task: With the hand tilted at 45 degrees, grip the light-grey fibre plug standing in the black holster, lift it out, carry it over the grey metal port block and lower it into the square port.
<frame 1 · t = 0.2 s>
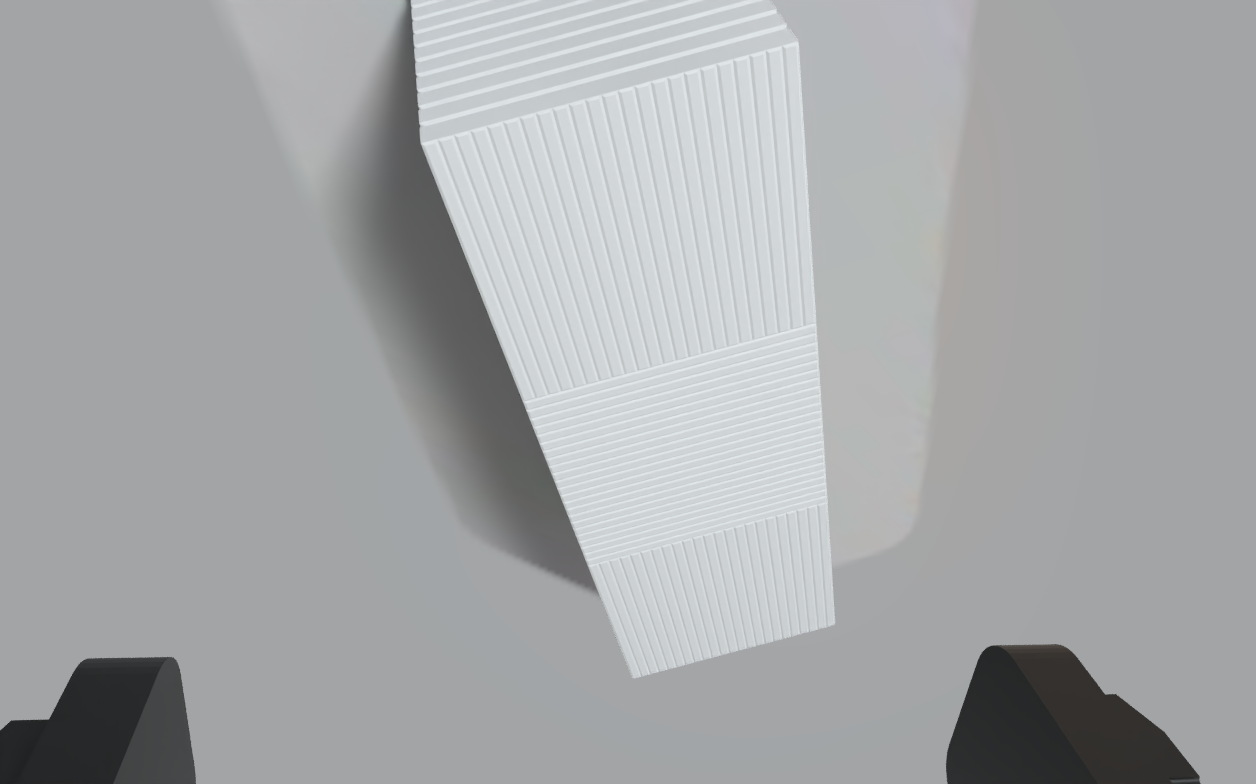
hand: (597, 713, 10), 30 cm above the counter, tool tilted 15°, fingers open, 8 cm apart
stack of papers: (637, 283, 46), on the counter
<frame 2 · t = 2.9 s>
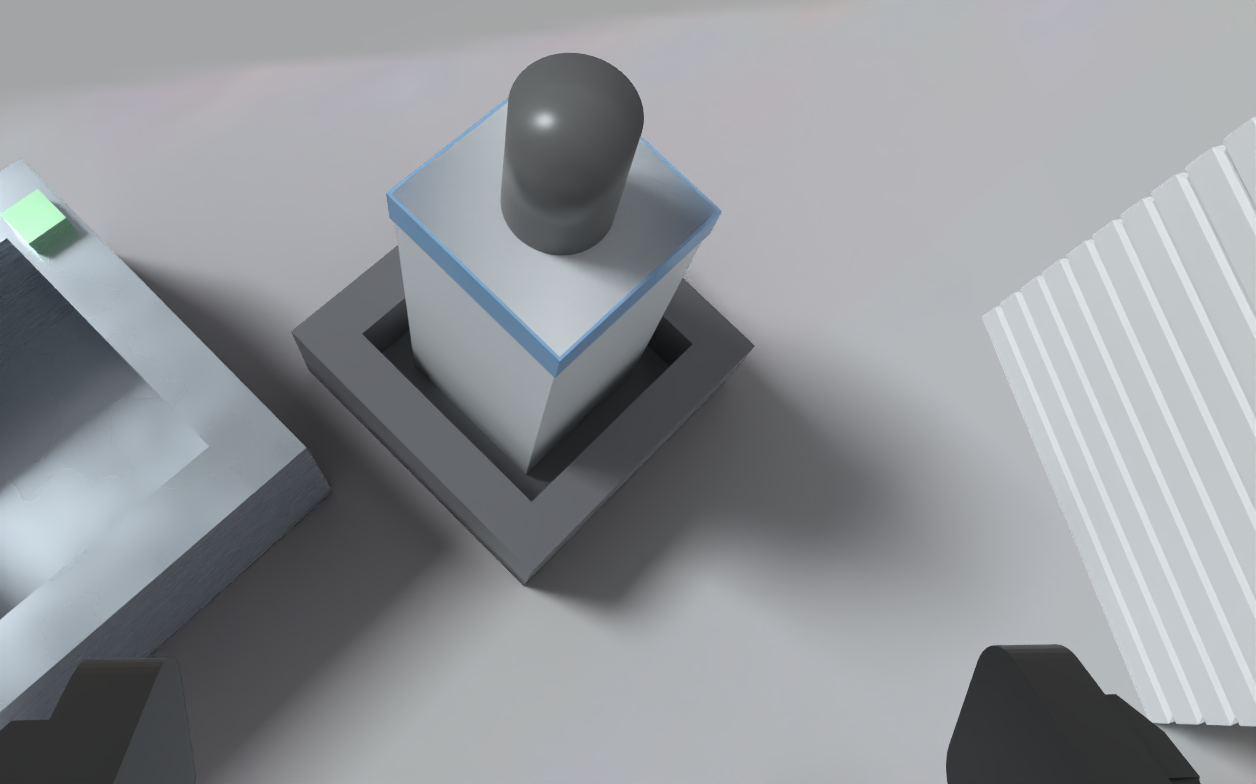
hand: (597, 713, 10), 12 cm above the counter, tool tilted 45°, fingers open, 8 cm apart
plug: (526, 367, 23), point 1 cm above the counter, touching holster
holster: (524, 375, 23), on the counter
port: (58, 489, 21), on the counter
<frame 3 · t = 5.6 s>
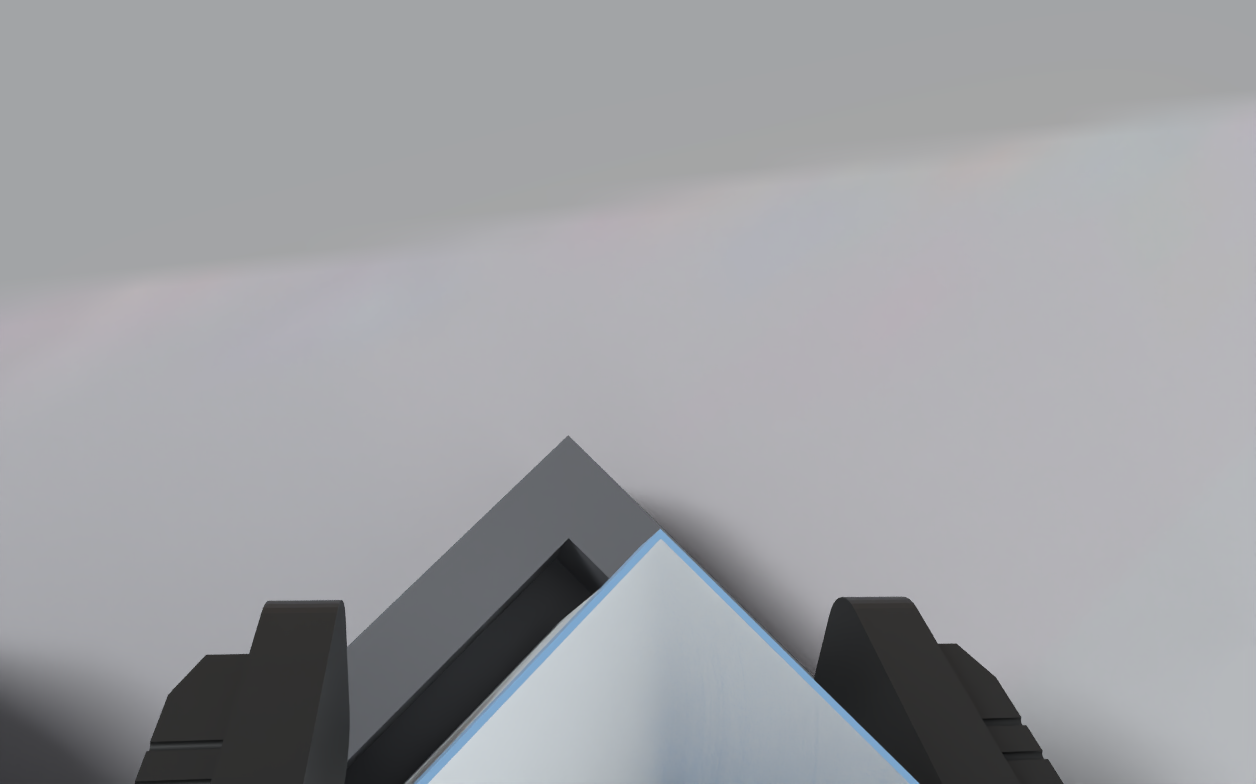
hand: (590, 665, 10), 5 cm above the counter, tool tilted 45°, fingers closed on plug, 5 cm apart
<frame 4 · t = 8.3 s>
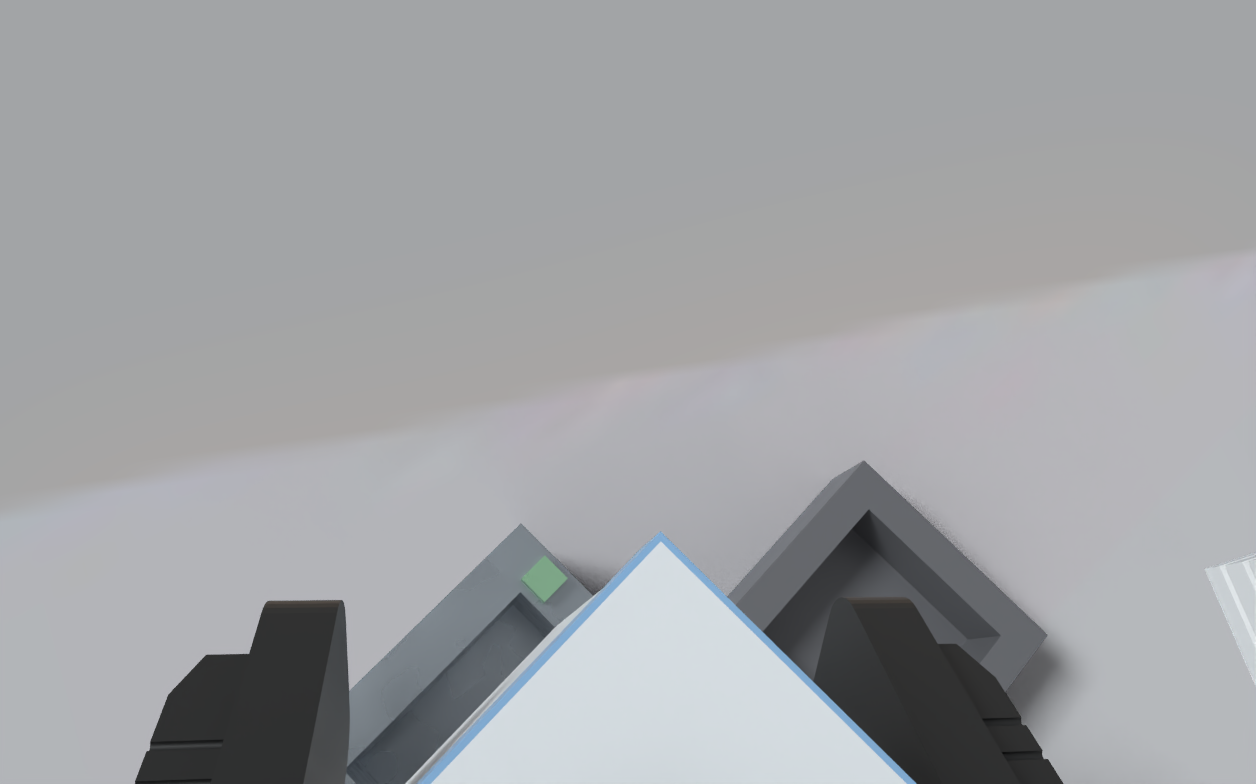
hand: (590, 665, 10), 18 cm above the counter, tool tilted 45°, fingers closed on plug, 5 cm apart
holster: (847, 642, 29), on the counter
port: (510, 754, 27), on the counter
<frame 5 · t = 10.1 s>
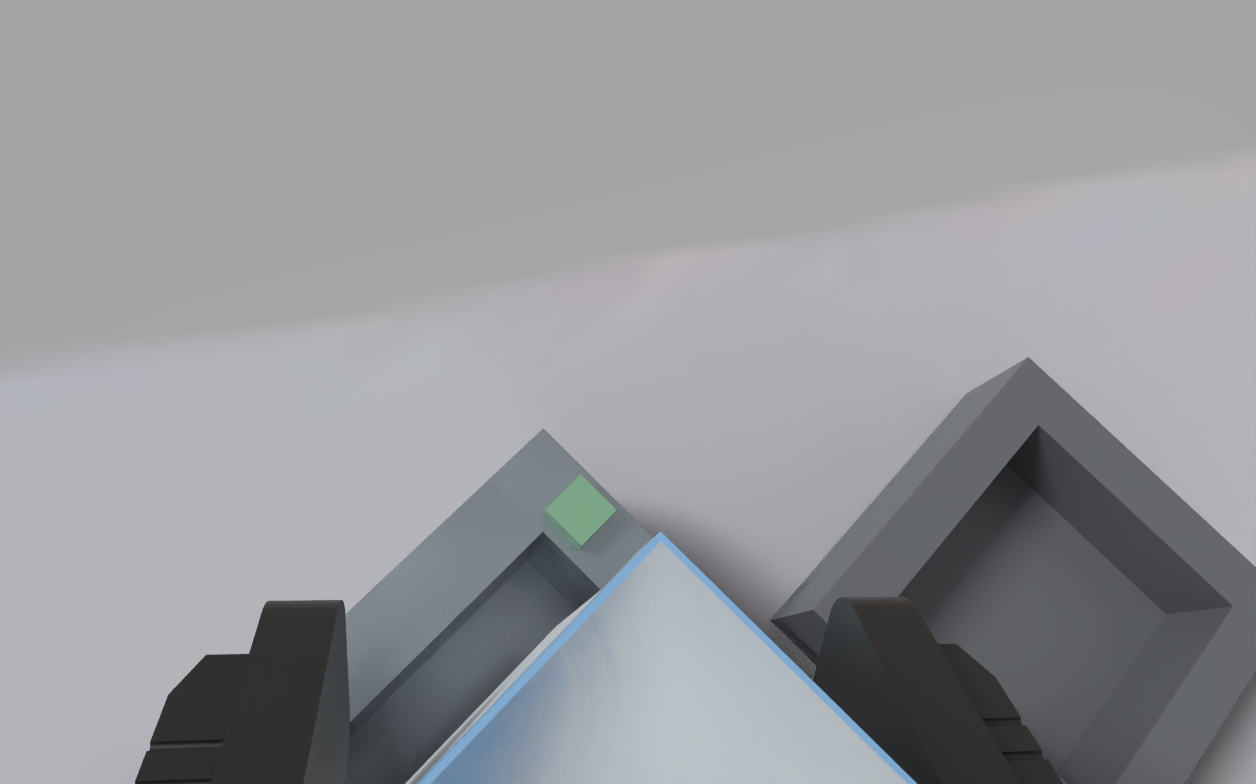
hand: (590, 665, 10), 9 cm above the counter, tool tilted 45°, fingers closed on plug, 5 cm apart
holster: (996, 617, 21), on the counter
port: (523, 778, 18), on the counter
when the fingers open (6 cm above the counter, at t = 11.4 s): plug drops 1 cm, resting on port.
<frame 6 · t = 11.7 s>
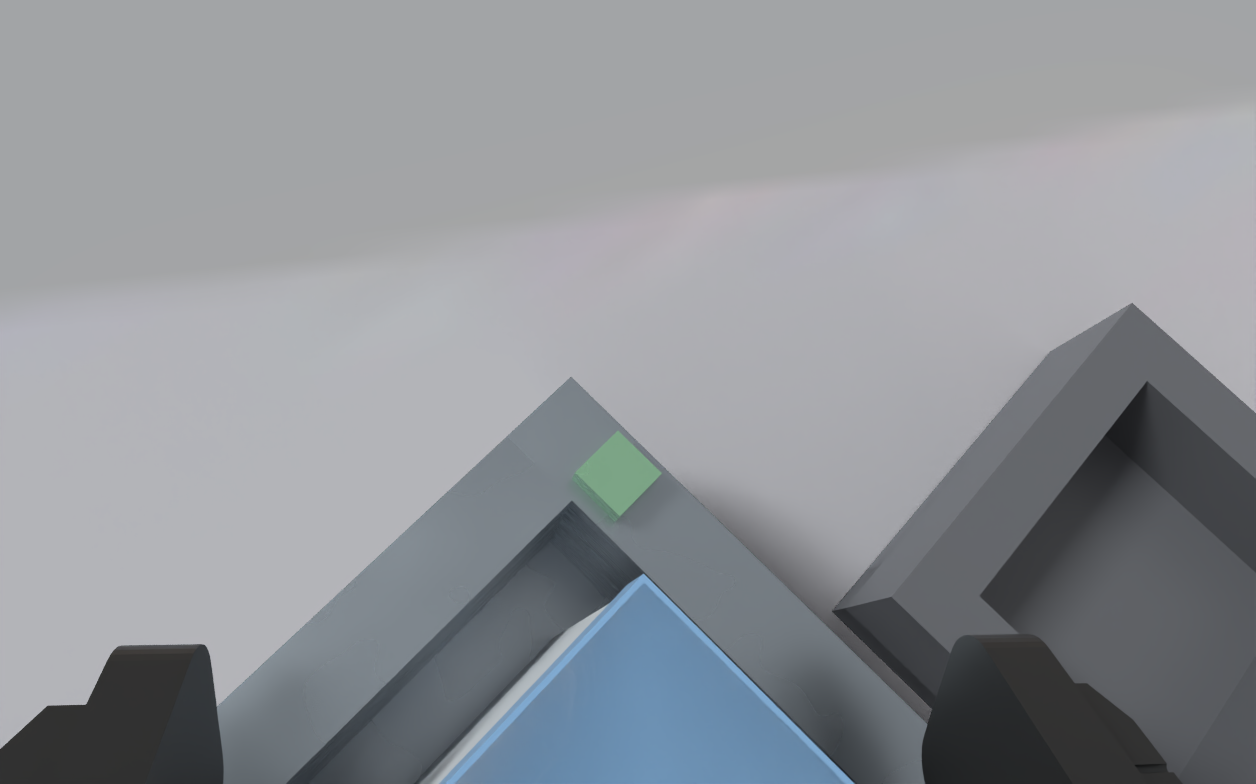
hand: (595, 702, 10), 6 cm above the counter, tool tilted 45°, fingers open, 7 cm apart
holster: (1091, 608, 18), on the counter
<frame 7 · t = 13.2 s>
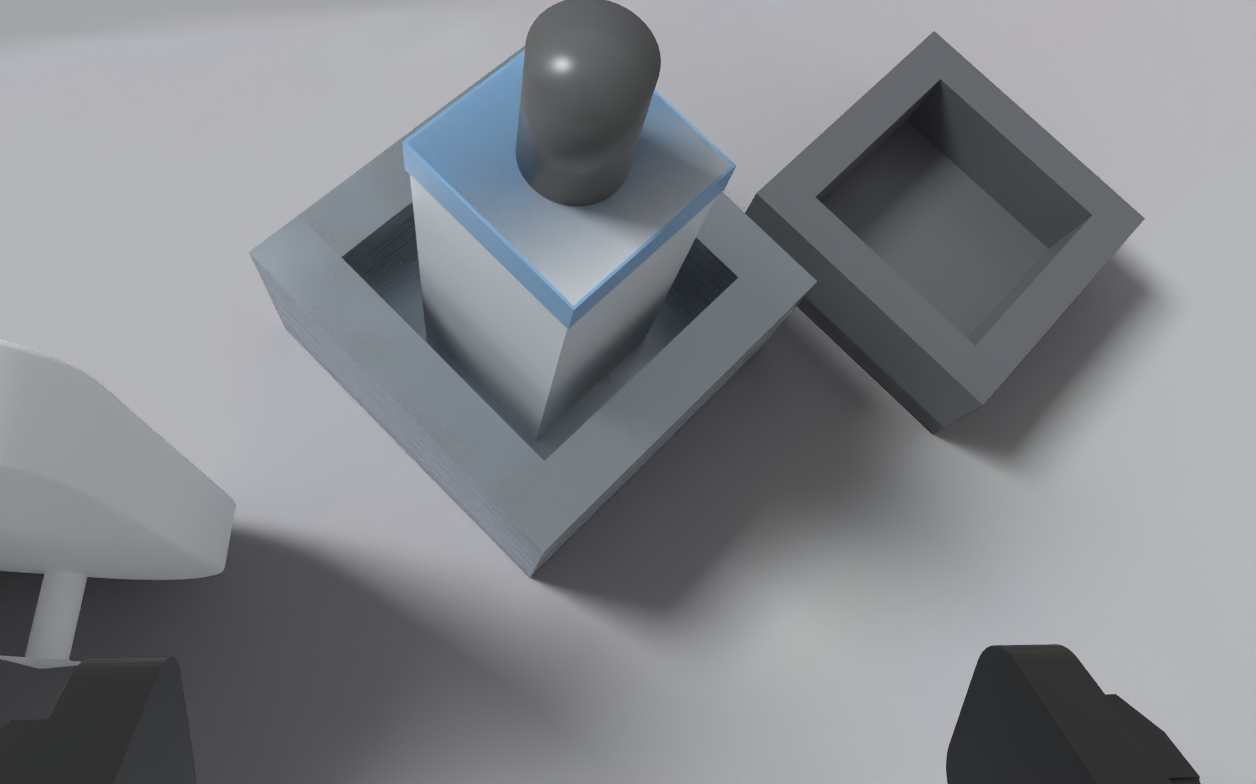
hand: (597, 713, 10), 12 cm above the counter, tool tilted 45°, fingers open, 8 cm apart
plug: (536, 334, 23), resting on port
holster: (911, 251, 26), on the counter
port: (532, 337, 23), on the counter
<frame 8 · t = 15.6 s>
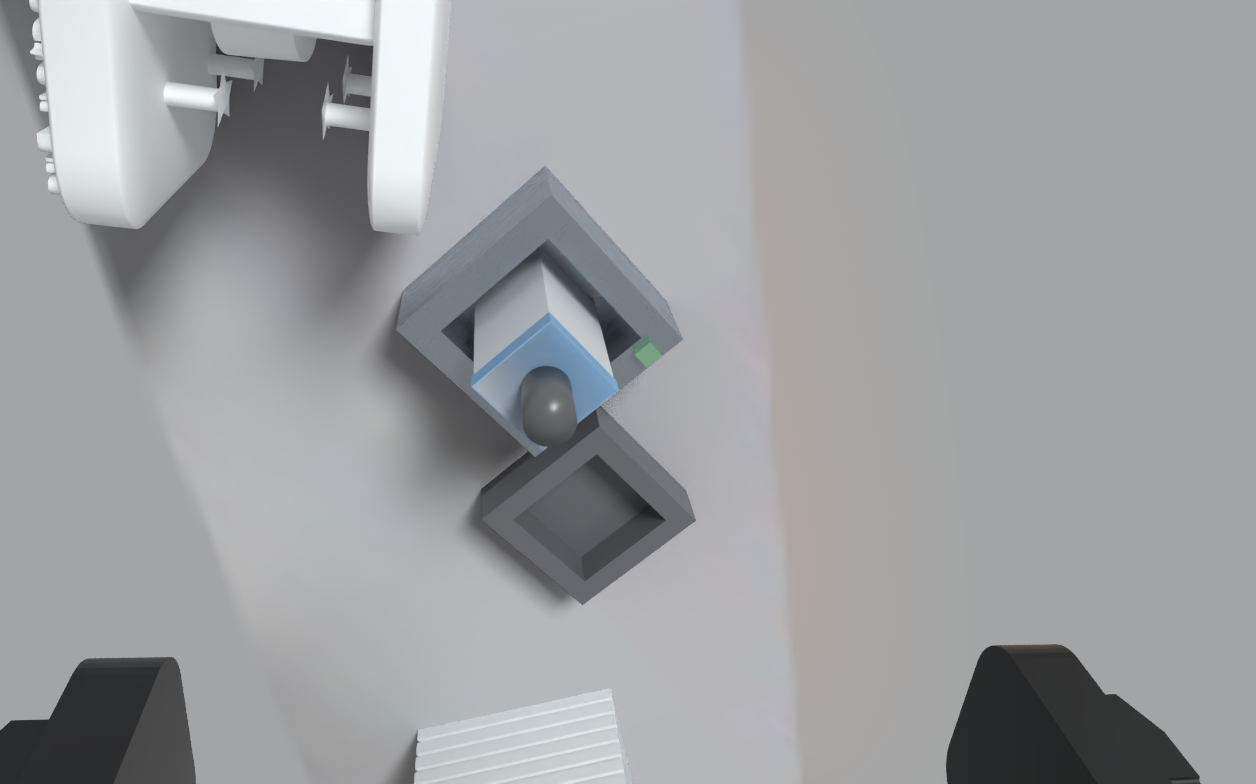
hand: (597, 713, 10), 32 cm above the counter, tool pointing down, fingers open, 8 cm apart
plug: (535, 302, 42), resting on port
holster: (585, 489, 47), on the counter
port: (537, 296, 42), on the counter
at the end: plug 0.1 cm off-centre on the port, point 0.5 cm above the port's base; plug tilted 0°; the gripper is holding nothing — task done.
